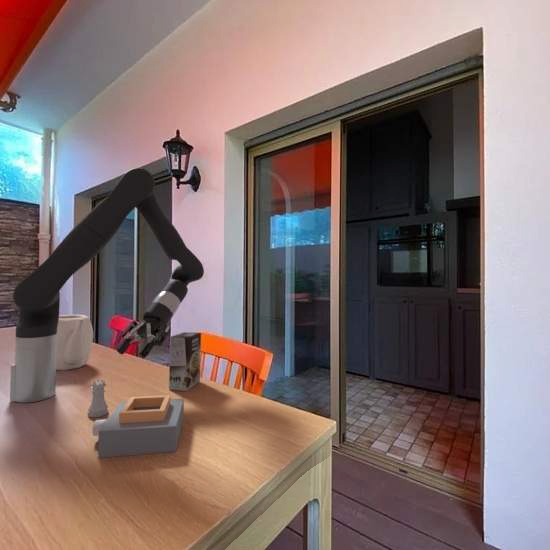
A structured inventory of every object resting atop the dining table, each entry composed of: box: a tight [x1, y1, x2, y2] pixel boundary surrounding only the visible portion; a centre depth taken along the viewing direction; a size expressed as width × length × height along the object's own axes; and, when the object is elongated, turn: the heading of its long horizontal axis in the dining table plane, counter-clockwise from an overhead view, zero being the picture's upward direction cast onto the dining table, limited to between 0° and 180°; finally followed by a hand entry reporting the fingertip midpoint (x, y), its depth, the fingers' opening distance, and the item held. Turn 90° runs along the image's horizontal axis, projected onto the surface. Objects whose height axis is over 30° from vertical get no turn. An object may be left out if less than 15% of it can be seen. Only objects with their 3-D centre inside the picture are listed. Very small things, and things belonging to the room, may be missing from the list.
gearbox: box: [92, 394, 185, 459], centre depth 67 cm, size 17×14×7 cm
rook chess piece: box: [87, 379, 109, 419], centre depth 77 cm, size 4×4×8 cm
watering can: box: [56, 314, 94, 371], centre depth 115 cm, size 16×27×19 cm, turn 49°
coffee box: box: [168, 332, 202, 392], centre depth 98 cm, size 9×6×16 cm
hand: (130, 354), depth 86 cm, fingers open, 8 cm apart
